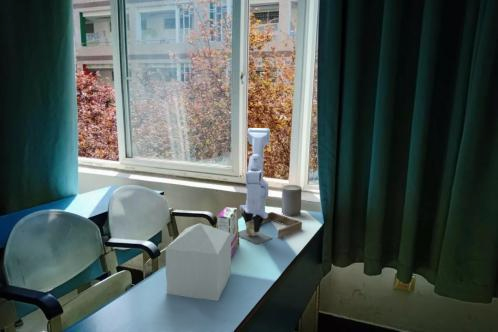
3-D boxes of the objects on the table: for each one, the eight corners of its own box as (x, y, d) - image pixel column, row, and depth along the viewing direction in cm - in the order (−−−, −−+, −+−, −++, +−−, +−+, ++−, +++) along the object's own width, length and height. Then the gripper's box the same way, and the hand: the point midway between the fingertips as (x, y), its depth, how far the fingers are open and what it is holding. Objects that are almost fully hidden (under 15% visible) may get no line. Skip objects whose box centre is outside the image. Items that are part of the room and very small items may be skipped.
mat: (233, 234, 148) (233, 233, 148) (248, 229, 154) (248, 228, 154) (257, 244, 138) (257, 243, 138) (272, 238, 145) (272, 237, 145)
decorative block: (231, 273, 116) (231, 216, 112) (218, 301, 100) (218, 235, 96) (185, 268, 118) (184, 212, 115) (165, 294, 103) (163, 230, 99)
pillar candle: (301, 211, 180) (302, 183, 177) (299, 217, 171) (300, 187, 168) (282, 209, 182) (283, 181, 179) (279, 215, 173) (280, 186, 170)
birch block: (246, 233, 146) (246, 222, 145) (252, 230, 149) (253, 219, 148) (253, 236, 143) (253, 224, 142) (259, 233, 146) (260, 222, 145)
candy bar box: (224, 246, 136) (225, 206, 133) (237, 248, 135) (237, 207, 132) (216, 259, 125) (216, 216, 122) (230, 261, 124) (230, 217, 121)
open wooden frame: (249, 226, 158) (249, 219, 157) (271, 218, 168) (271, 211, 167) (279, 238, 145) (280, 230, 144) (301, 229, 155) (302, 221, 155)
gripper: (234, 196, 145) (234, 227, 148) (259, 205, 135) (258, 237, 138) (246, 193, 150) (245, 223, 153) (271, 201, 140) (270, 233, 143)
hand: (252, 230), depth 146 cm, fingers closed on birch block, 4 cm apart
